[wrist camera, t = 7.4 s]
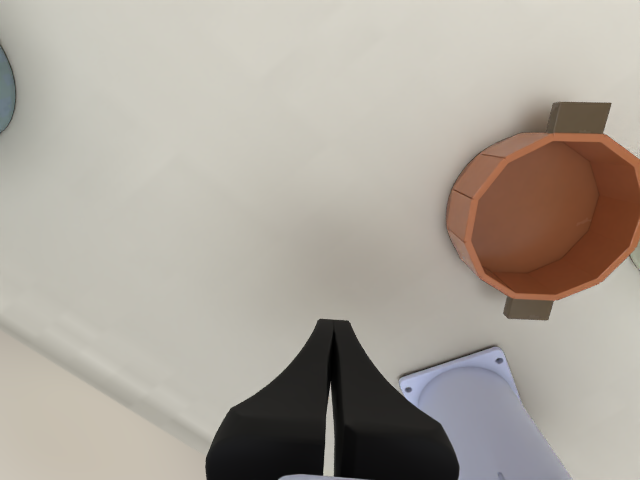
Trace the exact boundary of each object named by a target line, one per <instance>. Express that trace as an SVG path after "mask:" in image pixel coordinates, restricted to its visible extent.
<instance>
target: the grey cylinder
mask: <svg viewBox="0 0 640 480" xmlns="http://www.w3.org/2000/svg"><path fill="white" fill-rule="evenodd" d="M14 105H15V84H14V79H13V75H12V71H11V68H10V65H9V62H8V60H7V58H6V56H5V54H4V52H3V50H2V47H1V46H0V133H1V131H3V130H4V129H5V128H6V127H7V126H8V124H9V122H10V120H11V118H12V114H13V111H14Z"/></svg>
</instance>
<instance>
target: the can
mask: <svg viewBox="0 0 640 480" xmlns="http://www.w3.org/2000/svg"><path fill="white" fill-rule="evenodd" d="M630 256H631V258H632V260H633V262H634V264H635V265H636V267H637V268H638V269H639V270H640V239H639V242H638V245H637V247H636V248H635V250H634V251H633V252H632V253H631V254H630Z"/></svg>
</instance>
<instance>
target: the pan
mask: <svg viewBox="0 0 640 480" xmlns="http://www.w3.org/2000/svg"><path fill="white" fill-rule="evenodd" d="M610 107H611V103H593V102H556V103H553V105H552V109H551V113H550V117H549V121H548V126H547V130H546V133H519V134H517V135H515V136H512V137H509V138H506V139H504V140H501V141H499V142H497V143H495V144H493V145H491V146H490V147H488V148H486V149H485V150H483V151H482V152H481V153H479V154H478V155H477V156H476V157H475V158H474V159H473V160H472V161H471V162H469V164H468V165H467V166H466V167H465V168H464V170H463V171H462V172H461V174H460V175H459V177H458V178H457V180H456V182H455V184H454V186H453V188H452V190H451V193H450V196H449V199H448V204H447V210H446V225H447V230H448V234H449V237H450V240H451V242H452V244H453V246H454V247H455V249H456V250H457V252H458V255H459V257H460V258H461V260H462V261H463V262H464V263H465V264H466V265H467V266H468V267H469V268H470V269H471V270H472V271H473V272H474V273H475V274H476V275H477V276H478V277H479V278H480V279H481V280H483V281H484V282H486V283H488V284H489V285H491V286H493V287H494V288H496V289H497V290H499V291H501V292H502V293H504V294H505V295H507V299H506V304H505V308H504V312H503V314H504V315H505V316H506V317H507V318H508V319H528V320H548V319H549V315H550V312H551V309H552V305H553V302H554V301H555V300H559V299H562V298H564V297H567V296H569V295H572V294H574V293H577V292H579V291H582V290H585V289H587V288H590V287H592V286H595V285H597V284H599V283H600V282H602V281H603V280H604V279H605V278H606V277H607V276H608V275H610V274H611V273H612V272H613V271H614V270H615V269H616V268H617V267H618V266H619V265H620V264H621V263H622V262H623V261H624V260H625V259H626V258H627V257H628V256H629V255H630V254H631V253H632V252H633V251H634V250H635V248H636V247H637V245H638V242H639V239H640V159H638V158H637V157H636V156H634V155H633V154H632V153H630V152H629V151H628V150H626V149H625V148H623V147H622V146H621V145H619V144H618V143H617V142H615V141H614V140H613V139H611V138H610V137H608V136H607V135H604V134H603V131H604V128H605V124H606V121H607V117H608V114H609V111H610Z"/></svg>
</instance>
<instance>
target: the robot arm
mask: <svg viewBox="0 0 640 480" xmlns="http://www.w3.org/2000/svg"><path fill="white" fill-rule="evenodd" d="M497 358H500V359H498V360H496V359H497ZM330 383H331V391H332V405H333V419H334V438H335V445H334V477H330V476H323V467H324V450H325V430H326V412H327V405H328V397H329V390H330ZM399 385H400V388H401V390H402V392H403V394H404V396H405V397H404V396H402V395H401V394H400V393H399V392H398V391H397V390H396V389H395V388H394V387H393V386H392V385H391V384H390V383H389V382H388V381H387V380H386V379H385V378H384V377H383V375H382V374H381V373H380V372H379V371H378V369H377V368H376V367H375V366H374V364H373V363H372V361H371V360H370V359H369V357H368V356H367V354H366V353H365V351H364V349H363V348H362V346H361V344H360V343H359V341H358V339H357V337H356V335H355V333H354V331H353V329H352V326H351V323H350V322H349V321H345V320H330V319H319V320H318V321H317V324H316V326H315V329H314V331H313V332H312V334H311V336H310V338H309V339H308V341H307V342H306V344H305V345H304V347H303V348H302V350H301V351H300V352H299V354H298V355H297V356H296V357H295V359H294V360H293V361H292V362H291V363H290V364H289V366H288V367H287V368H286V369H285V370H284V371H283V372H282V373H281V374H280V375H279V376H277V377H276V378H275V379H274V380H273V381H272V382H271V383H270V384H268V385H267V386H266V387H264V388H263V389H262V390H260V391H259V392H258V393H256V394H255V395H253V396H252V397H250V398H248V399H247V400H245V401H243V402H241V403H240V404H238V405H236V406H234V407H232V408H231V409H230V410H229V412H228V413H227V415H226V417H225V418H224V420H223V422H222V423H221V425H220V427H219V429H218V431H217V433H216V435H215V437H214V439H213V442H212V444H211V447H210V449H209V452H208V454H207V457H206V466H205V468H206V477H207V480H573V479H572V477H571V476H570V474H569V473H568V471H567V470H566V468H565V467H564V465H563V464H562V462H561V461H560V459H559V458H558V456H557V455H556V454H555V452H554V451H553V449H552V448H551V446H550V445H549V443H548V442H547V440H546V439H545V437H544V436H543V434H542V433H541V431H540V430H539V428H538V427H537V426H536V424H535V423H534V421H533V420H532V418H531V417H530V415H529V414H528V412H527V411H526V409H525V408H524V406H523V405H522V402H521V399H520V396H519V394H518V391H517V388H516V385H515V382H514V379H513V377H512V374H511V371H510V368H509V365H508V363H507V360H506V357H505V354H504V352H503V351H502V349H501V348H499V347H492V348H489V349H486V350H483V351H480V352H477V353H474V354H471V355H468V356H465V357H462V358H459V359H456V360H453V361H450V362H447V363H444V364H441V365H438V366H435V367H432V368H428V369H425V370H422V371H419V372H416V373H413V374H410V375H407V376H404V377H402V378H400V380H399ZM407 387H410V388H409V389H406V388H407Z"/></svg>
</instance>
